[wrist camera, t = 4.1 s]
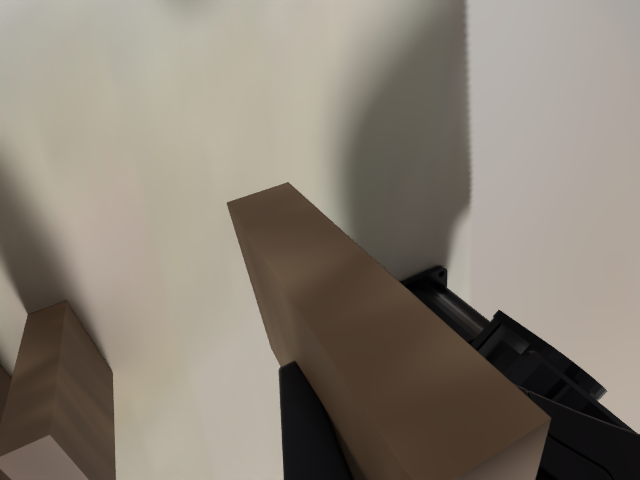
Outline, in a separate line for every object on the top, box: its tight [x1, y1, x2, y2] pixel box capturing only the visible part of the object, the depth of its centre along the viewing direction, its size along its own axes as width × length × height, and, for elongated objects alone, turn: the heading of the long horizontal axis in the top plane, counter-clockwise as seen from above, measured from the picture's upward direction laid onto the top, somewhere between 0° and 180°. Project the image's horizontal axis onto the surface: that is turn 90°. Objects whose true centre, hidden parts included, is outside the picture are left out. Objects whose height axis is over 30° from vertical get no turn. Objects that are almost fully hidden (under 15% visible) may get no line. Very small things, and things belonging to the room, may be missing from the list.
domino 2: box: [227, 182, 551, 480], centre depth 8 cm, size 2×5×8 cm, turn 9°
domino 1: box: [0, 301, 116, 480], centre depth 17 cm, size 2×5×8 cm, turn 9°
